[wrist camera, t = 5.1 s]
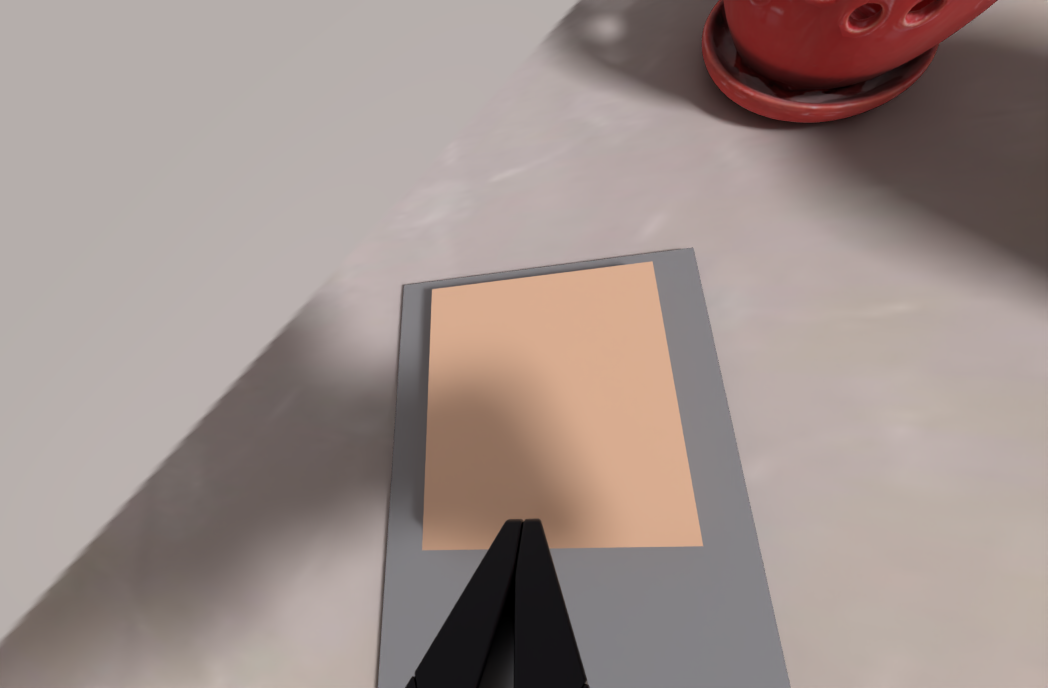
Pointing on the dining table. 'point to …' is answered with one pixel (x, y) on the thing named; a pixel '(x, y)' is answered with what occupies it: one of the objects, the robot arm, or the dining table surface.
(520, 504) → the tile
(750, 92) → the plant pot
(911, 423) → the dining table surface
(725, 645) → the mat
